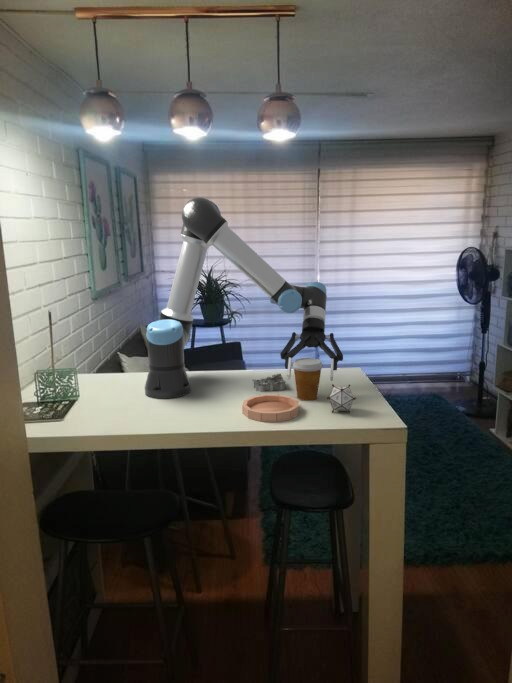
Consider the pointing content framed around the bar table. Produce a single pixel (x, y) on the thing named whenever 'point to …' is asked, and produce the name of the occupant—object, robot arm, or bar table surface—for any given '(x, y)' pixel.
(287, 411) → the terracotta bowl
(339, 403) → the game die
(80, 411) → the bar table surface
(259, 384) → the egg carton
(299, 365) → the disposable coffee cup
